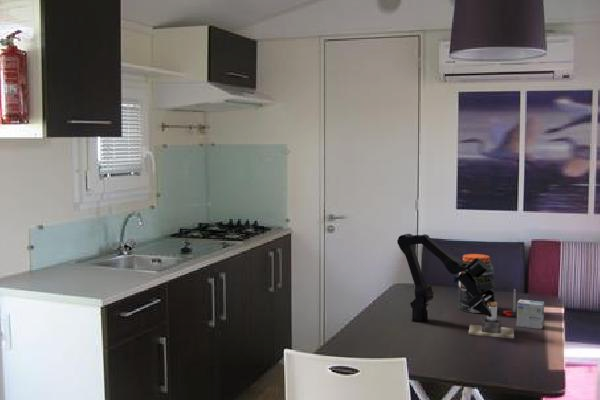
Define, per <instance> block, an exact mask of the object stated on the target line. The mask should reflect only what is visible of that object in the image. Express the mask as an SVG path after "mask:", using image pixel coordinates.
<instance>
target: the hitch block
mask: <svg viewBox="0 0 600 400" xmlns="http://www.w3.org/2000/svg"><path fill="white" fill-rule="evenodd" d="M468 328H469V329H468V335H471V336H482V337H495V338H496V337H497V338H503V339H504V338H506V339H515V331H514V330H515V329H514V328H513V327H503V326H502V319H501V318H497V323H493V322H487V317H482V319H481V325H479V324H469V327H468Z"/></svg>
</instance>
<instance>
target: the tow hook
mask: <svg viewBox="0 0 600 400" xmlns="http://www.w3.org/2000/svg"><path fill="white" fill-rule="evenodd" d="M516 296H517V294H516V288H513V294H512V305H511V310H503V311H502V314H503V315H505V317H511V318H517V305H516V303H517V302H516V298H517V297H516Z"/></svg>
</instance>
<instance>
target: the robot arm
mask: <svg viewBox="0 0 600 400" xmlns="http://www.w3.org/2000/svg"><path fill="white" fill-rule="evenodd" d="M397 245H398V247H399V249H400V251H401V252H402V253H403V255H404V256H405V258H406V262H407V265H408V267H409V268H408V269H409V271H410V275H411V278H412V281H413V284H414V299H413V300H412V301H411V302H410V303H409V304H410V307H411V310H412V313H411V322H418V323H427V321H428V320H429V309H428V306H429V305H430V303H431V302H432V301H433V299H434V295H435V293H434V292H433V288H432V285H428V284H427V283H426V281H425V278H424V274H423V273H422V269H421V266H420V263H419V259H418V256H417V254H416V253H417V252H416V250H417V248H416V247H417V245H422V246H423V247H424V248H426V249H427V250H428V251H429V252H430V253H431V254H433V255H434V256H435V257H436V258H437V259H438V260H440V261H441V263H442V266H443V267H444V268H445V269H446V270H447V271H448V273H449V274H451V275H455V276H453V277H454V279H453V284H454V283H455V284H456V283H459V281H460V283H461V284H462V285H463V286H464V288H465V289H466V290H467V291H466V293H469V294H470V295H471V296H472V297H473V298H472V299H470V300H469V301H468V304H467V305H468V306H469V307H470V308H472V307H473V308H472V309H475V310H477V311H479V312H481V314H483V315H484V316H486V317H487V316H489V317H491V316H492V315H491V313H490V311H489V310H488V308H487V307H486V305H487V302H488V301H496V295H497V294H496V293H497V291H496V290H495V289H494V288H497V286H496V283H497V282H496V281H495V280H494V279H493V280H492V279H491V278H490V279H488V280H487V282H486V283H483V284H482V283H481V282H477V281H476V280H475V277H477V278H479V277H480V276H481V275H483V274H484V273H485V272H486V271H487V270H488V269H489V268H488V266H487V264H486V263H485V262H483V261H482V260H480V259H479V258H476V259H475V260H474V261H473V262H472V263H471V264H467V263H464V262H463V260H461V259H460V258H458V257H456V256H455V255H452V254H450V253H449V252H447V251H446V250H445V249H444V248H443V247H442V246H441V245H439V244H438V243H437V242H436V241H435V240H433V239H432V238H431V237H430V235H428V234H415V235H414V234H411V233H405V234H400V235H399V236H398V238H397ZM467 269H468V271H467V272H465V273H464V272H463V271H465V270H467ZM460 272H462V273H461V274H460V275H459V273H460ZM485 304H486V305H485ZM500 312H501V310H500V308H499V306H498V304H497V313H500Z"/></svg>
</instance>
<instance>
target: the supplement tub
mask: <svg viewBox="0 0 600 400" xmlns="http://www.w3.org/2000/svg"><path fill="white" fill-rule="evenodd" d="M476 258H479V259H480V260H482V261H483V262H485V263H486V264H487V266H488V268H489V269H488V270H487V271H486V272H485V273H484V274H483V275H481V276H480V277H479V278H477V277H475V280H476V281H477V282H481V283H482V284H483V283H486V282H487V280H488V279H490V278H491V279H492V280H494V267H493V265H492V264H491V257H490V255H487V254H481V253H468V254H463V256H462V261H463V262H464V263H467V264H471V263H472V262H473V261H474V260H475V259H476ZM467 271H468V269H467V270H465V271H463V272H464V273H465V272H467ZM461 273H462V272H460V273H458V276H459V275H460V274H461ZM466 291H467V290H466V289H465V288H464V286H463V285H462V284H461V283H460V281H458V303H457V304H458V308H459V309H460V310H461V311H463V312H467V313H473V314H479V313H481V312H479V311H477V310H475V309H472V308H473V307H472V308H470V307H469V306H468V305H467V304H468V301H469V300H470V299H472V298H473V297H472V296H471V295H470V294H469V293H466ZM485 305H486V304H485ZM486 307H487V305H486ZM481 314H482V313H481Z"/></svg>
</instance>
